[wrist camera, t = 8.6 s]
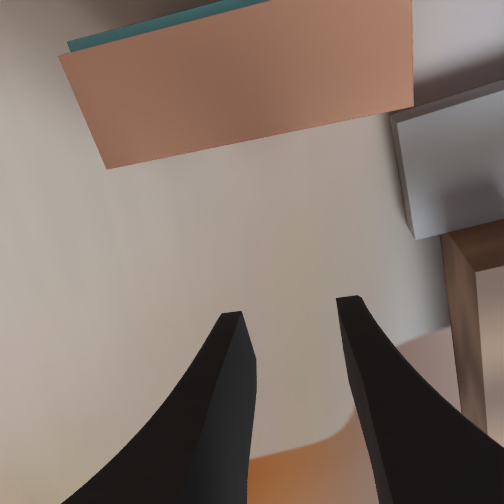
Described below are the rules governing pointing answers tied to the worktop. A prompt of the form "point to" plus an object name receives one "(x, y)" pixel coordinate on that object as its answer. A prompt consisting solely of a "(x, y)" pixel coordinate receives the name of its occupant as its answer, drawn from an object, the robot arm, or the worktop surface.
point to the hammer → (463, 230)
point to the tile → (239, 73)
